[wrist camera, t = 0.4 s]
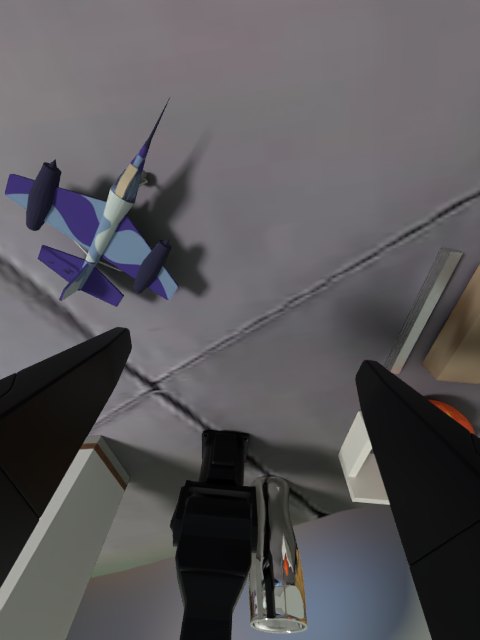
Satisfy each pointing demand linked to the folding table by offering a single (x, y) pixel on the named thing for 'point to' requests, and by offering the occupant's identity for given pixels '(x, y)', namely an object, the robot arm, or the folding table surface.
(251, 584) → the beer glass
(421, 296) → the rails
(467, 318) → the ball
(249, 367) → the folding table surface
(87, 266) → the toy airplane
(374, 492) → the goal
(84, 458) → the white square tower
